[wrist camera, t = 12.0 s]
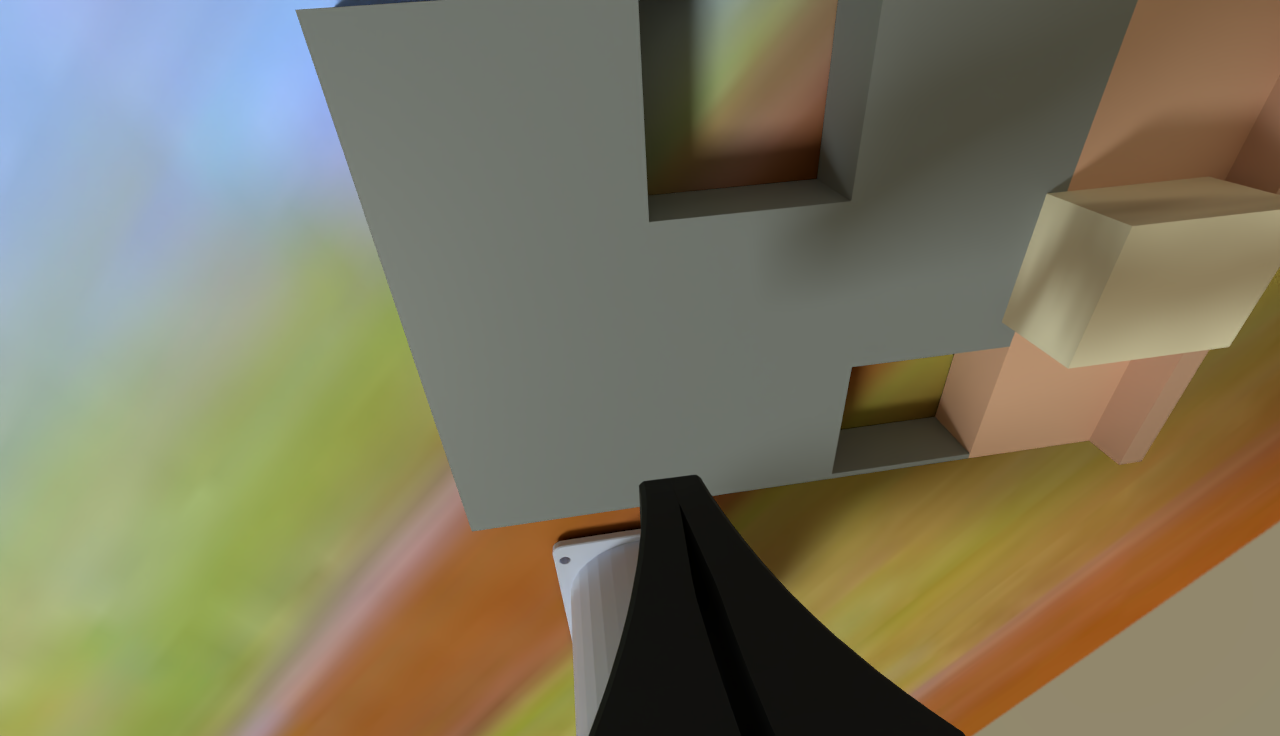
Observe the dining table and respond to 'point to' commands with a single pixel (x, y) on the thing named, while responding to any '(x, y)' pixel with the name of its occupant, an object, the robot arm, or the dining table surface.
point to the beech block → (1144, 269)
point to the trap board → (766, 233)
